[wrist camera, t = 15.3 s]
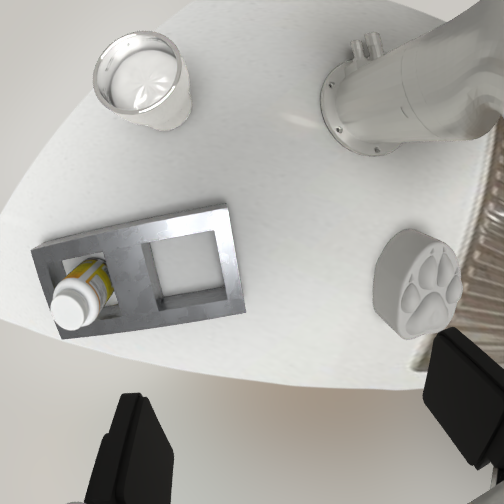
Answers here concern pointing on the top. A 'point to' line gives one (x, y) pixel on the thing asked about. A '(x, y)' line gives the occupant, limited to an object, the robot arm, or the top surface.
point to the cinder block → (145, 272)
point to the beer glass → (144, 81)
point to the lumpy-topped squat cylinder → (416, 284)
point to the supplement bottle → (82, 295)
